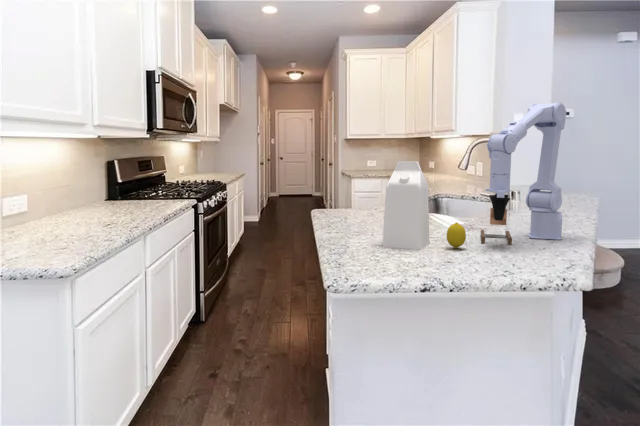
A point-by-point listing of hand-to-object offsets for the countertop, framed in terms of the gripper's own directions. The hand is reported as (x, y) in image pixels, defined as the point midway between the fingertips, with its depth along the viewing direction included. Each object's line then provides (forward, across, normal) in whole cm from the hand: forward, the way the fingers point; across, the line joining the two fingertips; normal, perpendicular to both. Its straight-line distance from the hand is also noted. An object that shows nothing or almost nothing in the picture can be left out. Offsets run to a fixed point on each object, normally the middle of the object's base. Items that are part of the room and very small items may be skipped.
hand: (498, 219), depth 147 cm
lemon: (+9, +8, -12) cm, 17 cm away
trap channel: (+8, -10, 0) cm, 13 cm away
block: (+1, 0, 0) cm, 1 cm away
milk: (+9, +6, -27) cm, 29 cm away
